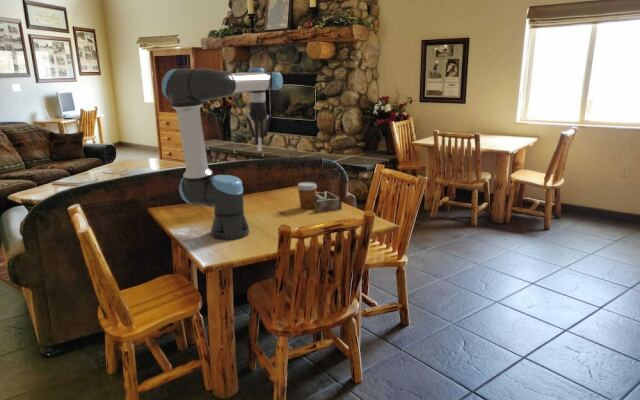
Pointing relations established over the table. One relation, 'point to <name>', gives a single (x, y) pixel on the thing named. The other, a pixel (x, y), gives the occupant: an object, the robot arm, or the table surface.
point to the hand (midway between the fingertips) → (259, 150)
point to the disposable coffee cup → (307, 195)
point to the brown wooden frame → (328, 202)
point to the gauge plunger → (319, 197)
